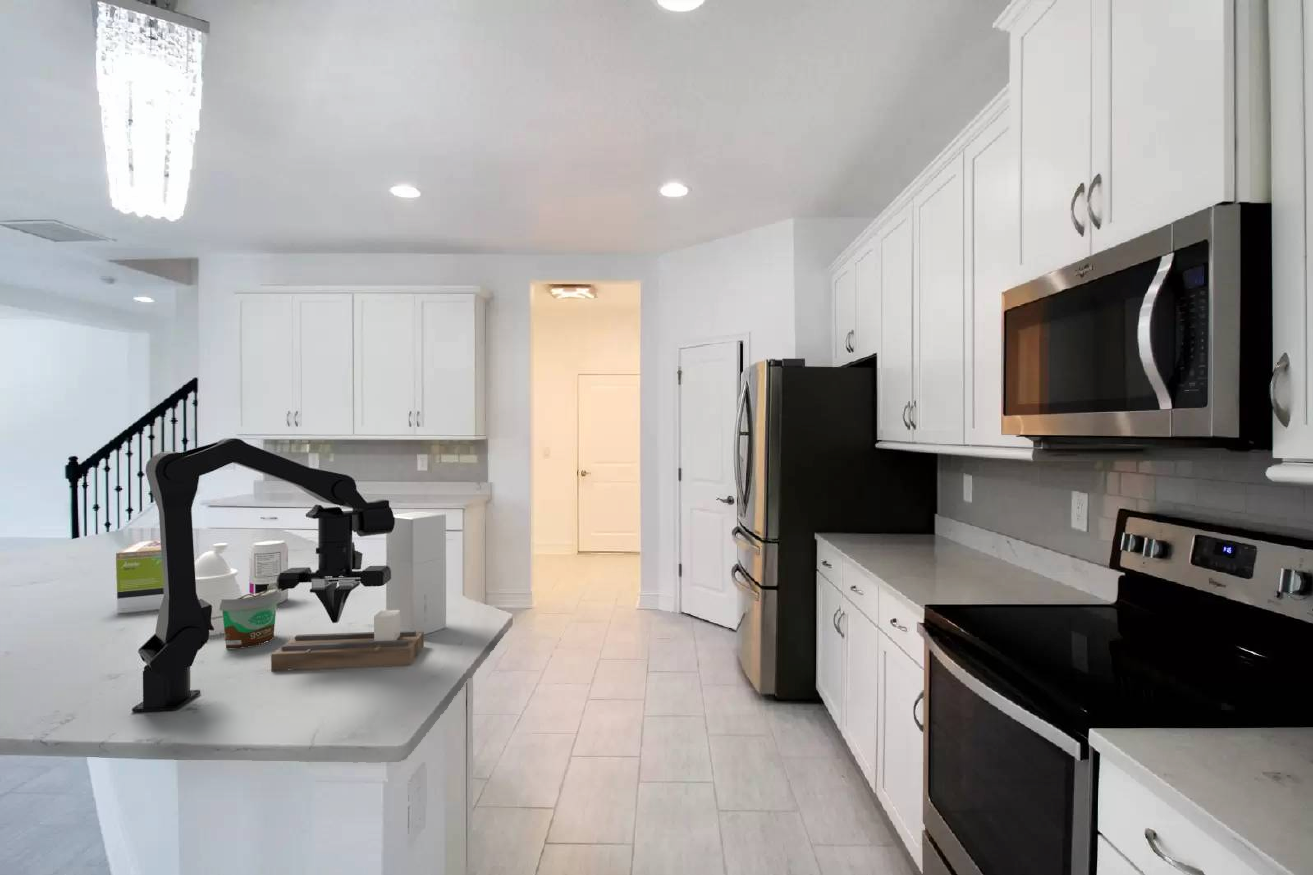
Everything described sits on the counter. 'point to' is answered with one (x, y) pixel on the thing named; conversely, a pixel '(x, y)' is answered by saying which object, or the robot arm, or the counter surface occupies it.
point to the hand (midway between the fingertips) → (335, 622)
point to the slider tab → (387, 625)
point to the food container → (250, 618)
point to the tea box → (139, 577)
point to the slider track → (346, 651)
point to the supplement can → (267, 566)
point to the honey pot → (215, 583)
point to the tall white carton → (417, 571)
